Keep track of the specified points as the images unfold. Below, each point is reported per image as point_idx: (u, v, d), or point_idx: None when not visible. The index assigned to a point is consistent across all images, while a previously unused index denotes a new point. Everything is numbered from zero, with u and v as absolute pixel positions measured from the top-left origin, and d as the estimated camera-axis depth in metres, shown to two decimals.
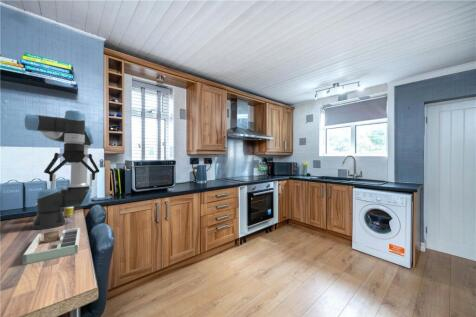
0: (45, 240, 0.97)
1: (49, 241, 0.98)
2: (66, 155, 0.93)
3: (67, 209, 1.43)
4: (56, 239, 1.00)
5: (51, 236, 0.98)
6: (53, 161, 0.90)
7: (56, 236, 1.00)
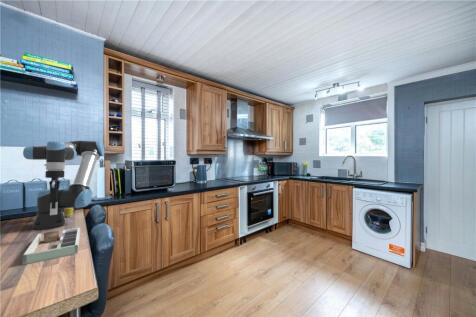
0: (45, 240, 0.97)
1: (49, 241, 0.98)
2: None
3: (67, 209, 1.43)
4: (56, 239, 1.00)
5: (51, 236, 0.98)
6: None
7: (56, 236, 1.00)
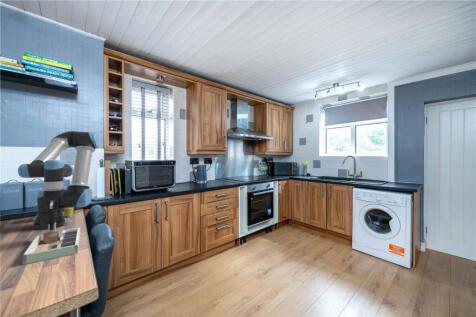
0: (45, 240, 0.97)
1: (49, 241, 0.97)
2: None
3: (67, 209, 1.43)
4: (56, 239, 0.99)
5: (51, 237, 0.97)
6: None
7: (56, 236, 0.99)
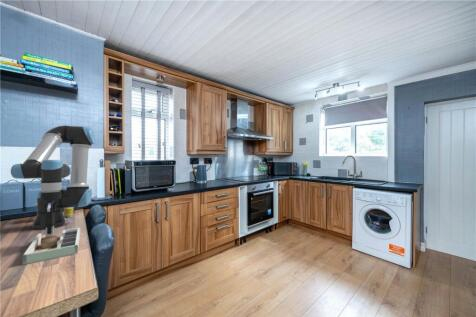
0: (43, 245, 0.91)
1: (47, 246, 0.91)
2: None
3: (67, 209, 1.43)
4: (54, 244, 0.93)
5: (49, 241, 0.92)
6: None
7: (54, 241, 0.93)
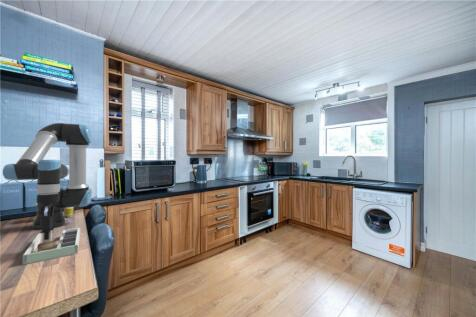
0: None
1: None
2: None
3: (67, 209, 1.43)
4: None
5: (47, 247, 0.85)
6: None
7: (52, 247, 0.87)
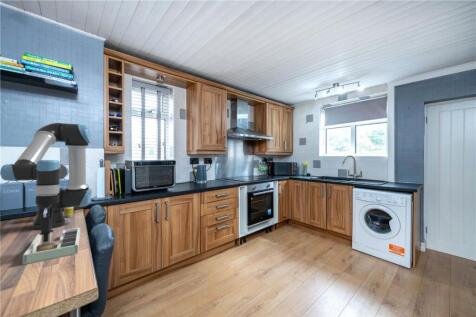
0: None
1: None
2: None
3: (67, 209, 1.43)
4: None
5: (46, 249, 0.83)
6: None
7: None
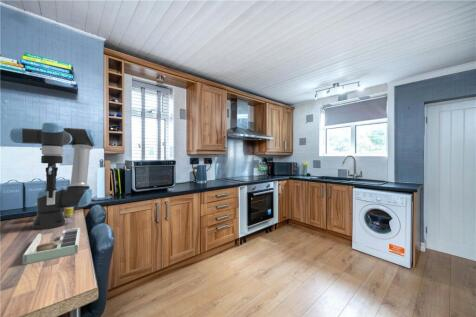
0: None
1: None
2: None
3: (67, 209, 1.43)
4: None
5: None
6: None
7: None
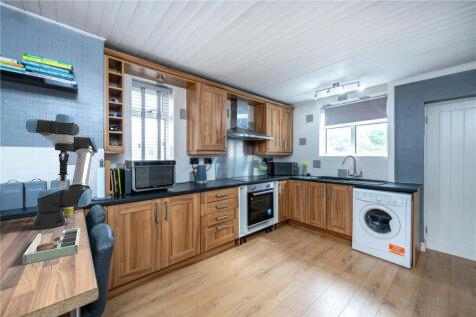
0: None
1: None
2: None
3: (67, 209, 1.43)
4: None
5: None
6: None
7: None
